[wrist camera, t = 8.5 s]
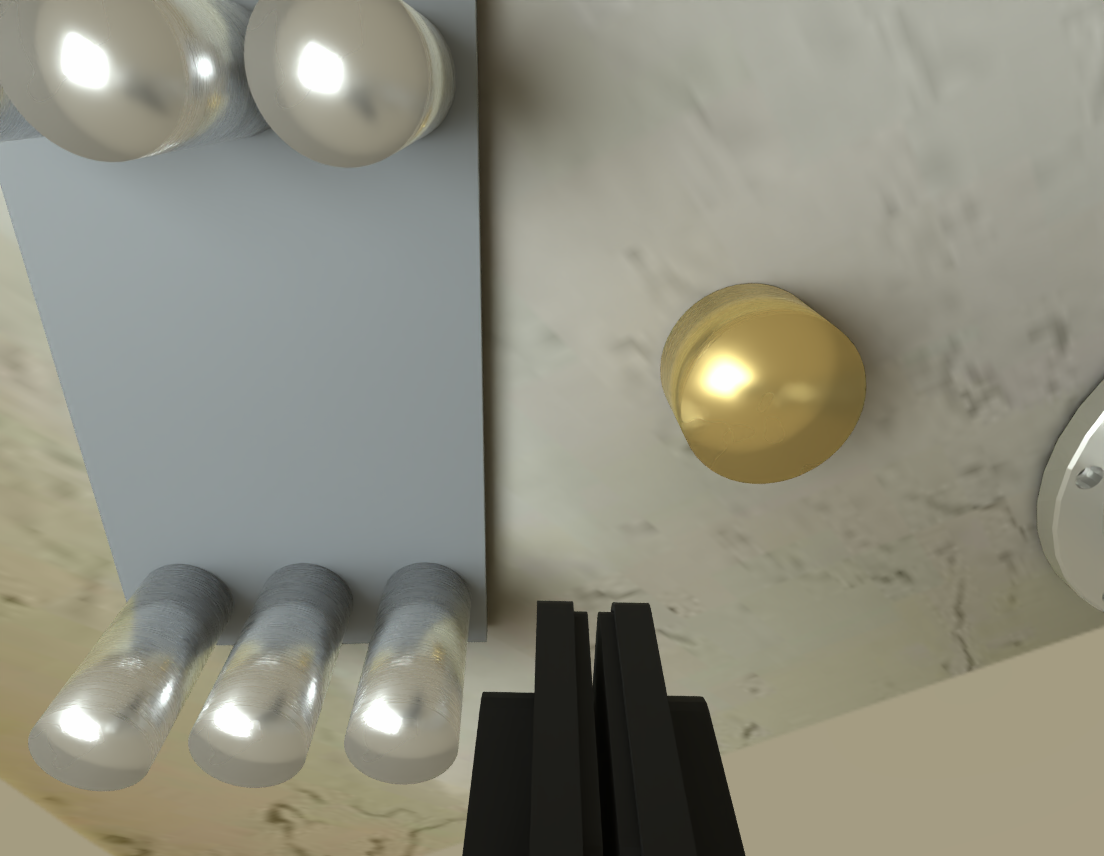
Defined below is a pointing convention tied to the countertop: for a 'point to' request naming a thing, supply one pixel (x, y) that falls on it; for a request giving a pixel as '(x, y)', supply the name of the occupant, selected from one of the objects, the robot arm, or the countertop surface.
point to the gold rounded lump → (761, 383)
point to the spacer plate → (273, 349)
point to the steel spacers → (294, 590)
